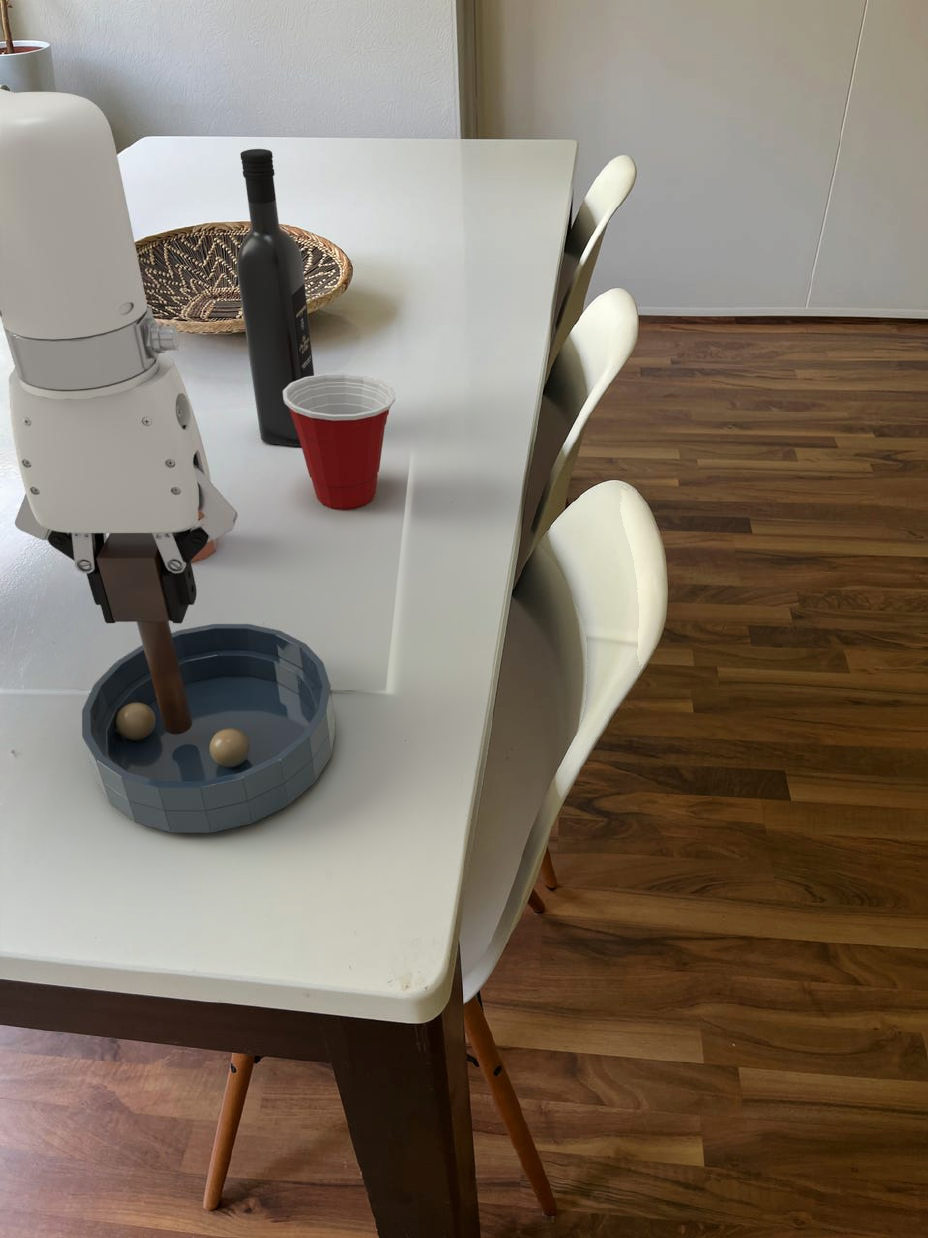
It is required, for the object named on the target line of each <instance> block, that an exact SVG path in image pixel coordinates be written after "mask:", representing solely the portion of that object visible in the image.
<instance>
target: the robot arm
mask: <svg viewBox="0 0 928 1238" xmlns="http://www.w3.org/2000/svg"><path fill="white" fill-rule="evenodd" d="M112 132H113V131H112V128H111V126H110V123H109V121H108V118H107V117H106V116H105V114H104V112H103V111H102V110H101V108H100V107H99V106H98V105H97V104H96V103H94V102H93V101H91V100H90V99H88V98H86V97H83V96H80V95H76V94H73V93H67V92H58V91H22V92H13V91H10V90H6V89H3V88H0V320H1V323H2V327H3V332H4V335H5V337H6V341H7V344H8V347H9V348H8V349H9V351H10V354H11V357H12V361H13V365H14V368H13V370H12V372H11V373H10V374H9V377H8V395H9V396H8V397H9V411H10V420H11V429H12V437H13V443H14V447H15V448H14V449H15V452H16V453H15V454H16V459H17V463H18V468H19V472H20V476H21V481H22V484H23V487H24V492H25V494H24V496H23V499H22V502H21V504H20V506H19V510H18V512H17V515H16V517H15V520H14V525H15V527H16V528H17V529H18V530H19V531H21V532H24V533H26V534H28V535H30V536H33V537H35V538H37V539H40V540H42V541H48V543H49V545H50V546H51V547H53V548H54V549H55V550H57V551H59V552H60V553H62V554H63V555H64V556H66V557H68V558H69V559H71V560H72V561H74V566H75V568H76V570H77V571H79V572H80V573H83V574H85V575H86V577H87V581H88V584H89V587H90V591H91V595H92V598H93V602H94V604H95V605H96V606H100V609H101V612H102V615H103V619H104V623H105V624H116V622H114V619H113V615H112V612H111V608H110V605H109V601H108V598H107V594H106V590H105V587H104V583H103V580H102V576H101V573H100V569H99V565H98V562H97V557H98V555H99V553H100V551H101V549H102V547H103V545H104V543H105V542H106V540H107V538H108V537H107V534H110V533H152V534H153V537H154V539H155V542H156V544H157V546H158V549H159V551H160V554H161V556H162V558H163V563H164V569H163V571H162V573H161V582H162V586H163V590H164V594H165V599H166V603H167V607H168V611H169V616H170V620H169V622H172V623H173V624H183V621H184V619H185V616H186V615H187V614H186V613H187V611H188V608H189V606H193V605H195V602H196V600H197V595H198V594H197V593H198V591H197V584H196V580H195V579H196V578H195V575H194V570H193V566H192V563H191V560H192V559H193V558H194V557H195V556H196V555H197V554H198V553H199V552H200V551H201V550H202V549H203V548H204V547H205V545H206V544H207V543H208V542H210V541H212V540H215V539H217V540H218V539H219V538H221V537H223V536H224V535H226V534H228V533H230V532H231V531H233V530H234V528H235V526H236V522H237V519H238V512H237V510H236V509H235V508H234V507H233V506H232V504H231V503H230V502H229V501H228V500H227V499H226V498H225V496H224V495H223V494H222V492H220V491H219V489H217V487H216V486H215V485H214V484H213V483H212V479H211V473H210V467H209V464H208V463H209V462H208V459H207V456H206V455H207V454H206V450H205V447H204V444H203V440H202V435H201V431H200V429H199V426H198V423H197V419H196V416H195V413H194V409H193V407H192V404H191V400H190V398H189V394H188V392H187V390H186V386H185V384H184V382H183V379H182V376H181V374H180V372H179V370H178V368H177V365H176V363H175V361H174V359H173V358H172V357H171V356H170V355H169V354H165V353H166V352H173V351H176V352H177V351H179V349H180V333H179V329H178V327H177V326H176V325H164V324H163V323H158V321H156V317H154V313H153V309H152V307H149V306H148V302H147V297H146V293H145V288H144V282H143V277H142V272H141V267H140V262H139V258H138V253H137V248H136V243H135V238H134V232H133V228H132V222H131V218H130V217H131V216H130V213H129V208H128V204H127V198H126V193H125V187H124V183H123V179H122V173H121V168H120V163H119V158H118V152H117V148H116V144H115V140H114V135H113V133H112ZM198 509H199V510H200V511H201V512H202V513H203V514H204V515H205V517H204V518H203V519H198Z"/></svg>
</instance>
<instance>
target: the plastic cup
mask: <svg viewBox="0 0 928 1238" xmlns="http://www.w3.org/2000/svg"><path fill="white" fill-rule="evenodd" d="M283 399H284V402H285V404H286V405H287V406H288V408H289V411H290V412H291V416H292V419H293V421H294V425H295V429H296V430H297V433H298V436H299V440H300V443H301V446H300V447H301V450H302V454H303V457H304V461H305V464H306V468H307V472H308V475H309V478H310V479H311V482H312V486H313V489H314V493H315V496H316V499H317V500H318V502H319V503H320V504H321V505H322V506H324V507H327V508H329V509H331V510H338V511H349V510H355V509H359V508H362V507H365V506H367V505H369V503H371V502H372V501H373V499H374V497H375V495H376V493H377V485H378V484H377V483H378V476H379V471H380V466H381V459H382V452H383V442H384V435H385V428H386V425H387V421H388V416H389V414H390V410H391V407H392V405H393V404H394V403H395V401H396V399H397V396H396V393H395V390H394V387H393V388H392V386H390V385H388V384H387V383H385V382H384V381H382V380H379V379H375V378H373V377H370V376H366V375H359V374H353V373H352V374H351V373H321V374H316V375H315V374H314V376H309V377H304V378H302V379H299V380H297V381H294V382H292V383H290V384H289V385H288V386H287V387H286V388H285V389H284V390H283Z"/></svg>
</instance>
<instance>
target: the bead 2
mask: <svg viewBox="0 0 928 1238" xmlns="http://www.w3.org/2000/svg"><path fill="white" fill-rule="evenodd" d="M249 750H250V745H249V741H248V738H247V737H246V735H245V734H244V733H243V732H241V731H239V730H237V729H234V728H227V729H223V730H221V731H219V732H218V733H216V734H215V735H214V737H213V738H212V740H211V742H210V755H211V757H212V759H213V760H214V761H215V762H216V763H217V764H218V765H220V766H222V767H227V768H231V767H236V766H238V765H240V764H241V763H243V762H244V761H245V759H246V758H247V756H248V754H249Z"/></svg>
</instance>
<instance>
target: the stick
mask: <svg viewBox="0 0 928 1238" xmlns="http://www.w3.org/2000/svg"><path fill="white" fill-rule="evenodd" d="M108 534H109V535H108V536H107V537H106V538H107V540H106V542H105V543H104V545H103V547H102V549H101V551H100V553H99V555H98V557H97V562H98V565H99V569H100V573H101V576H102V580H103V583H104V587H105V590H106V594H107V598H108V601H109V605H110V608H111V612H112V615H113V619H114V622H115V623H134V622H135V623H136V625H137V628H138V633H139V636H140V640H141V643H142V645H143V648H144V652H145V656H146V659H147V663H148V667H149V671H150V675H151V679H152V682H153V686H154V690H155V694H156V698H157V701H158V705H159V709H160V713H161V717H162V721H163V724H164V728H165V730H166V732H168V733H170V734H174V735H177V734H182V733H184V732H186V731H188V730H189V729H190V728H191V726H192V718H191V714H190V710H189V706H188V701H187V697H186V693H185V689H184V684H183V680H182V676H181V672H180V668H179V663H178V659H177V655H176V651H175V646H174V642H173V638H172V634H171V633H172V630H171V626H170V616H169V611H168V607H167V603H166V599H165V594H164V590H163V586H162V582H161V573H162V571H163V569H164V563H163V558H162V556H161V554H160V551H159V549H158V546H157V544H156V542H155V539H154V537H153V534H152V533H108Z"/></svg>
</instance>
